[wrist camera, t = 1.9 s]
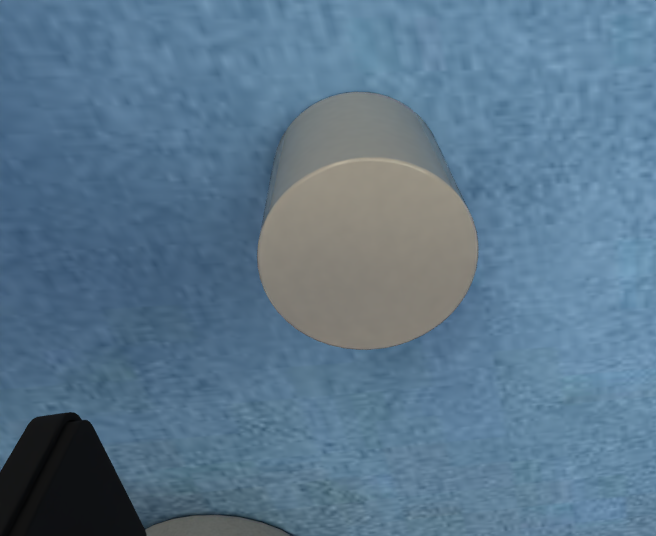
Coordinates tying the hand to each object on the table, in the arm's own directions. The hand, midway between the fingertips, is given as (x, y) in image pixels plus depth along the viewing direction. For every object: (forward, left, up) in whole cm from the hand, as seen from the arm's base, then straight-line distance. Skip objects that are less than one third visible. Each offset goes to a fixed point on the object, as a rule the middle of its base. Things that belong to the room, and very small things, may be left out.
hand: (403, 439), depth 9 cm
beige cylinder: (0, 0, -10) cm, 10 cm away
